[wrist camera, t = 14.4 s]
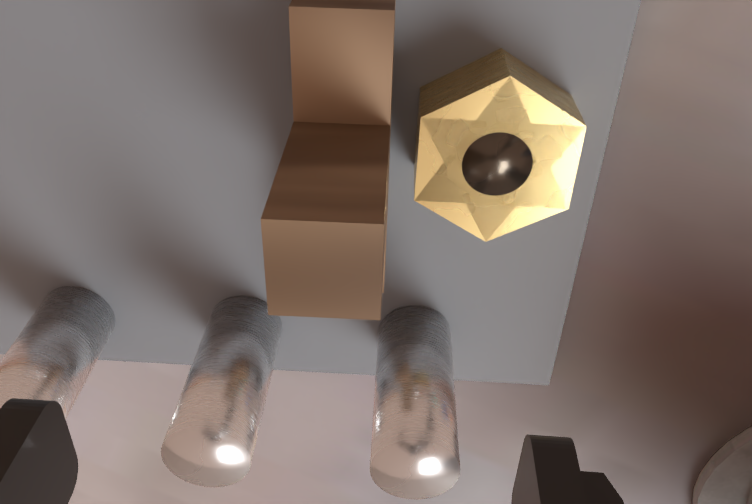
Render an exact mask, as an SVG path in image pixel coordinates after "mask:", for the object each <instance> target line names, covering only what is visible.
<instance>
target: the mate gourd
mask: <svg viewBox="0 0 752 504" xmlns="http://www.w3.org/2000/svg"><path fill="white" fill-rule="evenodd" d="M692 504H752V426H751V427H749V428H748V429H746V430H745V431H743V432H742V433H740V434H739V435H737V436H736V437H734V438H733V439H731V440H730V441H728V442H727V443H726V444H725V445H724V446H723V447H722V448H721V449H719V450H718V451H717V452H716V453H715V454H714V455H713V456H712V457H711V458H710V460H709V461H708V462H707V464H706V465H705V466H704V468H703V469H702V471H701V472H700V474H699V476H698V479H697V481H696V484H695V486H694V490H693V499H692Z"/></svg>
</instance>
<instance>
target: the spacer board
mask: <svg viewBox="0 0 752 504" xmlns="http://www.w3.org/2000/svg"><path fill="white" fill-rule="evenodd" d="M291 1H292V0H0V354H6V353H7V351H8V350H9V348H10V347H11V345H12V344H13V343H14V341H15V340H16V338H17V337H18V335H19V334H20V333H21V331H22V330H23V328H24V327H25V325H26V324H27V322H28V321H29V320H30V318H31V317H32V315H33V314H34V312H35V311H36V310H37V308H38V307H39V305H40V304H41V302H42V301H43V300H44V298H45V297H46V295H47V294H48V293H49V292H50V291H52V290H54V289H56V288H58V287H62V286H77V287H82V288H85V289H88V290H90V291H93V292H94V293H96V294H98V295H99V296H101V297H102V298H103V299H104V300H105V301H106V302H107V303H108V304H109V305H110V307H111V308H112V310H113V312H114V315H115V327H114V330H113V332H112V333H111V335H110V337H109V339H108V341H107V343H106V345H105V347H104V348H103V350H102V352H101V354H100V356H99V358H98V360H113V361H131V362H148V363H166V364H184V365H192V364H193V361H194V358H195V356H196V353H197V350H198V347H199V345H200V342H201V339H202V337H203V334H204V331H205V329H206V326H207V323H208V321H209V318H210V315H211V312H212V310H213V308H214V307H215V306H216V305H217V304H218V303H219V302H220V301H222V300H223V299H225V298H228V297H232V296H238V295H245V296H251V297H255V298H258V299H261V300H263V301H265V302H266V303H267V295H266V282H265V269H264V257H263V244H262V231H261V216H262V213H263V210H264V207H265V205H266V202H267V199H268V196H269V193H270V190H271V187H272V184H273V181H274V178H275V175H276V172H277V169H278V166H279V163H280V160H281V157H282V154H283V151H284V148H285V145H286V143H287V140H288V137H289V134H290V131H291V128H292V125H293V122H294V120H293V97H292V74H291V51H290V28H289V5H290V3H291ZM640 3H641V0H396V6H395V32H394V58H393V84H392V110H391V135H390V161H389V187H388V213H387V239H386V263H385V281H384V293H382V303H381V320H362V319H340V318H319V317H297V316H280V318H281V322H282V332H281V337H280V341H279V345H278V350H277V354H276V358H275V363H274V367H273V370H289V371H306V372H324V373H341V374H359V375H376V362H377V345H378V330H379V326H380V323H381V321H382V320H383V318H384V317H385V316H386V315H387V314H388V313H390V312H391V311H393V310H395V309H397V308H399V307H402V306H407V305H421V306H426V307H429V308H432V309H434V310H436V311H438V312H439V313H440V314H442V315H443V316H444V317H445V318H446V320H447V321H448V323H449V326H450V329H451V342H452V357H453V372H454V380H464V381H482V382H499V383H517V384H534V385H549V384H550V380H551V375H552V371H553V367H554V363H555V359H556V355H557V350H558V346H559V342H560V338H561V334H562V329H563V325H564V321H565V317H566V313H567V308H568V304H569V300H570V296H571V292H572V288H573V283H574V279H575V275H576V271H577V267H578V262H579V258H580V254H581V250H582V246H583V241H584V237H585V233H586V229H587V225H588V221H589V216H590V212H591V208H592V204H593V200H594V195H595V191H596V187H597V183H598V179H599V174H600V170H601V166H602V162H603V158H604V154H605V149H606V145H607V141H608V137H609V133H610V128H611V124H612V120H613V116H614V112H615V107H616V103H617V99H618V95H619V91H620V87H621V82H622V78H623V74H624V70H625V66H626V61H627V57H628V53H629V49H630V45H631V40H632V36H633V32H634V28H635V24H636V20H637V15H638V11H639V7H640ZM500 48H502V49H504V50H505V51H507V52H508V53H510V54H511V55H513V56H514V57H516V58H517V59H519V60H520V61H522V62H523V63H525V64H526V65H528V66H529V67H531V68H532V69H534V70H535V71H536V72H538V73H539V74H541V75H542V76H544V77H545V78H547V79H548V80H550V81H551V82H553V83H554V84H556V85H557V86H559V87H560V88H562V89H563V90H565V91H566V92H568V93H569V94H571V95H572V97H573V99H574V101H575V103H576V106H577V108H578V110H579V112H580V114H581V116H582V118H583V120H584V122H585V124H586V126H587V127H586V131H585V136H584V141H583V145H582V150H581V154H580V159H579V163H578V168H577V173H576V177H575V182H574V186H573V191H572V195H571V200H570V205H569V209H567V210H565V211H562V212H560V213H557V214H555V215H552V216H549V217H547V218H544V219H542V220H539V221H537V222H534V223H532V224H529V225H527V226H524V227H522V228H519V229H517V230H514V231H512V232H509V233H507V234H504V235H502V236H499V237H497V238H494V239H492V240H489V241H487V242H485V241H483V240H482V239H480V238H478V237H476V236H475V235H473V234H471V233H469V232H468V231H466V230H464V229H463V228H461V227H459V226H457V225H456V224H454V223H452V222H450V221H449V220H447V219H445V218H444V217H442V216H440V215H438V214H437V213H435V212H433V211H431V210H430V209H428V208H426V207H424V206H423V205H421V204H419V203H418V202H416V201H414V160H415V147H416V133H417V120H418V107H419V93H420V87H421V86H423V85H426V84H428V83H430V82H432V81H434V80H436V79H438V78H440V77H442V76H444V75H446V74H448V73H450V72H453V71H455V70H457V69H459V68H461V67H463V66H465V65H467V64H469V63H471V62H473V61H475V60H477V59H480V58H482V57H484V56H486V55H488V54H490V53H492V52H494V51H496V50H498V49H500Z"/></svg>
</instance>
